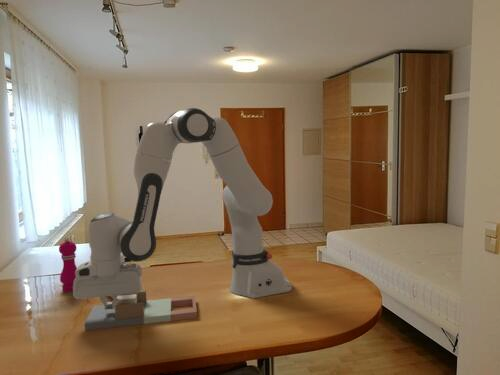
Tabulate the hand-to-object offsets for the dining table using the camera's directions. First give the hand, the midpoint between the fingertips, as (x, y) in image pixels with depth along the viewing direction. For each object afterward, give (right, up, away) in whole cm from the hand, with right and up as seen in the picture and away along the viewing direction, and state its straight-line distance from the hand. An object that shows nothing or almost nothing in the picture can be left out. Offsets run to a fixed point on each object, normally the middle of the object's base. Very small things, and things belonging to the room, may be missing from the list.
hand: (109, 308), depth 125 cm
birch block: (+5, -1, +1) cm, 5 cm away
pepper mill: (-24, -1, +27) cm, 37 cm away
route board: (+11, -3, +2) cm, 11 cm away
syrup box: (-5, -1, +21) cm, 21 cm away
